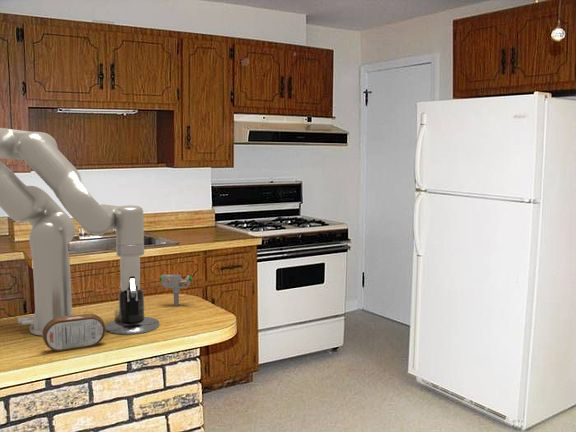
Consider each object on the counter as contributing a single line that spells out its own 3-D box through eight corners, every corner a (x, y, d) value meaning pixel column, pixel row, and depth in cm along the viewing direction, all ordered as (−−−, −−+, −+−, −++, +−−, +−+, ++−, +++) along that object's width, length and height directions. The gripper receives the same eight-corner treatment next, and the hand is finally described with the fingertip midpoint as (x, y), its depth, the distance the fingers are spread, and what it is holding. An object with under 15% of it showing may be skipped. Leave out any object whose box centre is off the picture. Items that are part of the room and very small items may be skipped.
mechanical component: (191, 307, 186) (190, 276, 185) (159, 306, 186) (158, 276, 185) (192, 304, 189) (192, 274, 188) (161, 304, 189) (161, 274, 188)
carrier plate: (106, 337, 156) (105, 324, 156) (104, 321, 170) (104, 309, 170) (162, 331, 161) (162, 319, 161) (156, 316, 175) (156, 305, 175)
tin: (104, 341, 153) (103, 310, 152) (107, 345, 150) (106, 313, 149) (43, 351, 146) (41, 318, 145) (44, 355, 143) (42, 321, 142)
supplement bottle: (137, 316, 170) (136, 276, 169) (148, 321, 165) (148, 280, 164) (115, 321, 166) (114, 279, 164) (126, 326, 161) (125, 284, 159)
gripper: (115, 245, 170) (116, 304, 172) (118, 255, 154) (119, 321, 156) (141, 244, 173) (142, 302, 175) (146, 254, 156) (148, 318, 158)
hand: (131, 310), depth 165 cm, fingers closed on supplement bottle, 6 cm apart
